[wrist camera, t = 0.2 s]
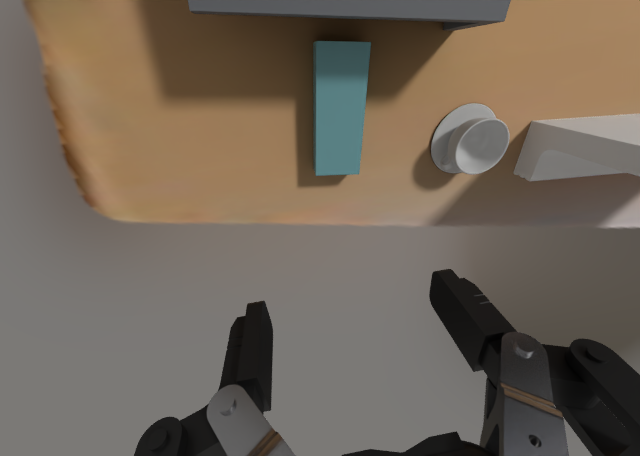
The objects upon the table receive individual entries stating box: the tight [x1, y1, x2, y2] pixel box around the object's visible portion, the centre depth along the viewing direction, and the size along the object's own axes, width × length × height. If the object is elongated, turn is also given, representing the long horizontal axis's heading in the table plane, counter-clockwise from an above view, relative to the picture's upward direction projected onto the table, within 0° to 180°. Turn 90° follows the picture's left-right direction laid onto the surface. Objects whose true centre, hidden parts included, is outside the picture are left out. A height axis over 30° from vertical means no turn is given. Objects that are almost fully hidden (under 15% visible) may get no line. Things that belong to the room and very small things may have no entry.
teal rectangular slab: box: [313, 41, 371, 176], centre depth 34 cm, size 15×6×3 cm, turn 179°
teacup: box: [431, 103, 509, 174], centre depth 38 cm, size 10×10×5 cm
